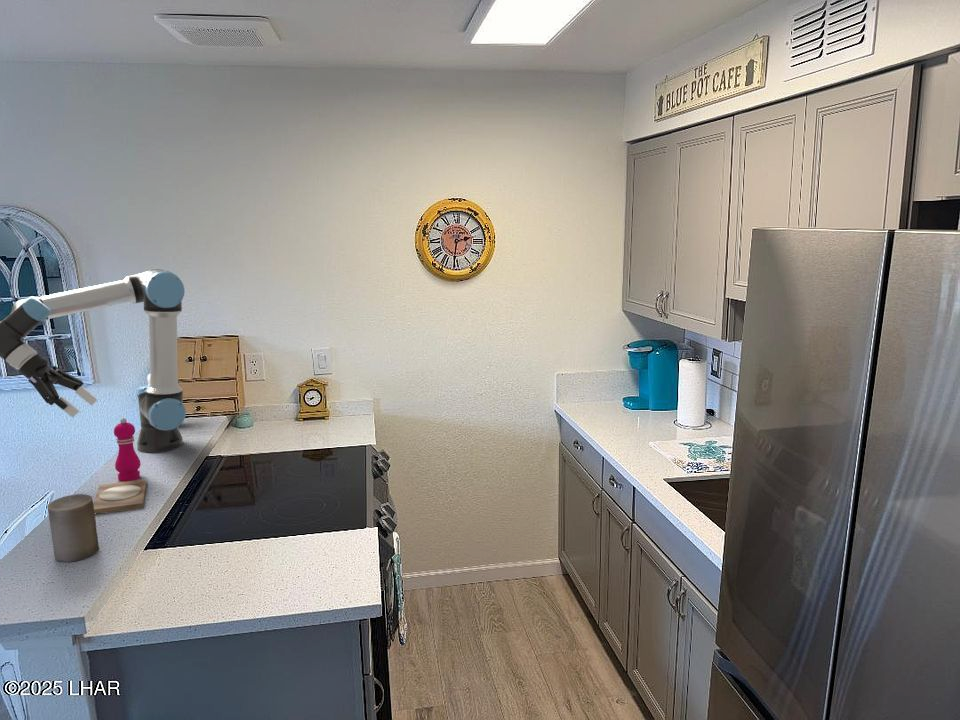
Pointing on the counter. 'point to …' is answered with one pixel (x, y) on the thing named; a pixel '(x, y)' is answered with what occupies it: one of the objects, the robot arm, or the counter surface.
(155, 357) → the robot arm
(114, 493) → the tan wooden flat board
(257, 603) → the counter surface
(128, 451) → the pepper mill
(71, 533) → the pillar candle
